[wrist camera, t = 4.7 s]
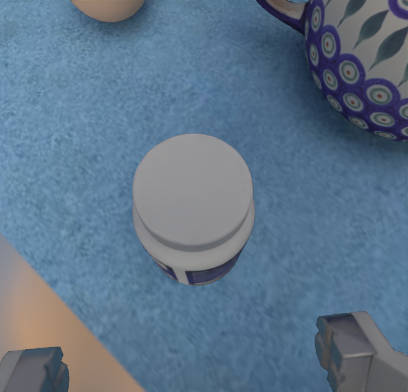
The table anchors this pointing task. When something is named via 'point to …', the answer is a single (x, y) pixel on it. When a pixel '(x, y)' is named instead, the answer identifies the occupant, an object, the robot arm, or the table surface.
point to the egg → (109, 9)
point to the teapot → (356, 57)
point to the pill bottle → (193, 207)
